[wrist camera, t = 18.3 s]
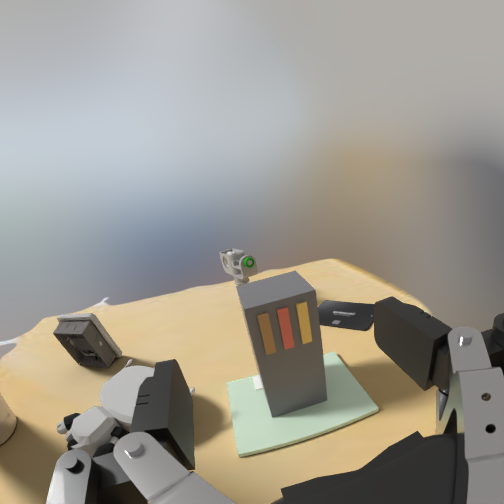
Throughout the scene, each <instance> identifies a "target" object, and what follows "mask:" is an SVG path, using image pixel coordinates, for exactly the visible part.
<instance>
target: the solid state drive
mask: <svg viewBox="0 0 504 504" xmlns="http://www.w3.org/2000/svg"><path fill="white" fill-rule="evenodd" d="M374 305H375V304H364V303H352V302H340V301H329V300H325V301H324V302H323V303H322V304H321V305H320V306H319V307H318V315H319V323H320V325H324V326H331V327H338V328H346V329H353V330H362V331H367V330H368V329H369V327H370V326H371V324H372V323H373V321H374Z"/></svg>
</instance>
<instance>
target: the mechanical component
mask: <svg viewBox="0 0 504 504" xmlns="http://www.w3.org/2000/svg"><path fill="white" fill-rule="evenodd" d="M220 257H221V261H222V265H223V268H224V270H225V272H226V273H228V274H231V275H233V276H234V278H235V284H236V285H238V286H239V285H243V284H247V283H248V282H249V279H248V277H250V276H253V275H255V274H257V267H256V262H255V259H254V257H252V256H250V255H246V256H245V254H244V251H243V250H237V249H233V248H231V249H228V250H225V251H222V252H220Z"/></svg>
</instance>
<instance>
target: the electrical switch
mask: <svg viewBox="0 0 504 504" xmlns="http://www.w3.org/2000/svg"><path fill="white" fill-rule="evenodd" d="M57 319H58V321H59V325H58V326H57V328H56V330H55V331H54V332H53V334H54V335H55V337H56V338H57V339H58V340H59V342H60V343H61V344H62V345H63V347H64V348H65V349H66V350H67V351H68V353H69V354H70V355H71V356H72V357H73V359H74V360H75V361H76V362H77V363H78V364H79V363H80V364H79V365H86V366H96V367H106V368H109V367H110V365H111V363H112V362H113V361H114V359H115V358H120V357H121V355H122V351H121V350H120V349H119V347H118V346H117V345H116V343H115V342H114V341H113V339H112V338H111V337H110V335H109V334H108V333H107V331H106V330H105V328H104V327H103V326H102V324H101V323H100V321H99V320H98V318H97V317H96V316H95V315H94V314H92V313H86V314H68V315H60V316H59V317H58V318H57ZM67 339H68V340H67ZM96 357H98V360H95V359H96ZM100 359H101V360H100ZM99 361H100V362H99Z"/></svg>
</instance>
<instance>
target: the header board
mask: <svg viewBox="0 0 504 504" xmlns="http://www.w3.org/2000/svg"><path fill="white" fill-rule="evenodd" d="M323 358H324V368H325V378H326V389H327V401H324V402H321V403H318V404H315V405H312V406H309V407H306V408H303V409H300V410H297V411H294V412H290V413H287V414H284V415H280V416H277V417H273V418H272V415H271V412H270V409H269V406H268V403H267V400H266V397H265V393H264V390H263V387H262V384H261V380H260V376H259V375H255V376H251V377H247V378H243V379H239V380H235V381H231V382H227V388H228V395H229V402H230V409H231V415H232V422H233V428H234V434H235V441H236V447H237V452H238V456H239V457H243V456H248V455H253V454H257V453H261V452H265V451H269V450H273V449H277V448H280V447H284V446H287V445H291V444H294V443H298V442H301V441H304V440H307V439H310V438H313V437H316V436H319V435H322V434H325V433H327V432H330V431H333V430H335V429H338V428H341V427H343V426H346V425H348V424H351V423H353V422H355V421H358V420H360V419H362V418H365V417H367V416H369V415H371V414H374V413H376V412H378V410H379V408H378V406H377V405H376V404H375V403H374V401H373V400H372V399H371V398H370V396H369V395H368V394H367V393H366V391H365V390H364V389H363V387H362V386H361V385H360V384H359V382H358V381H357V380H356V379H355V377H354V376H353V375H352V374H351V372H350V371H349V370H348V369H347V367H346V366H345V365H344V363H343V362H342V361H341V360H340V358H339V357H338V356H337V355H336V353H335V352H334V351H333V352H330V353H327V354H325V355H323Z"/></svg>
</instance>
